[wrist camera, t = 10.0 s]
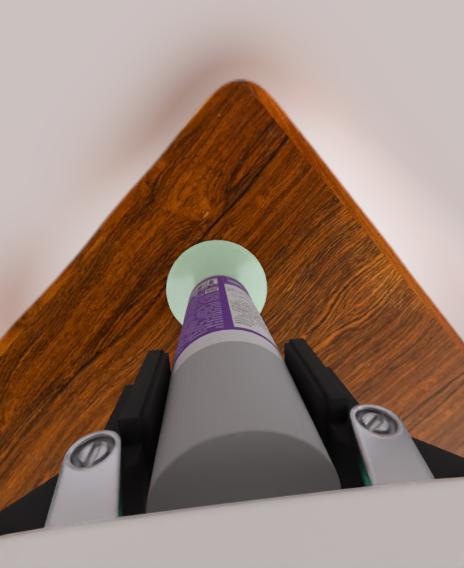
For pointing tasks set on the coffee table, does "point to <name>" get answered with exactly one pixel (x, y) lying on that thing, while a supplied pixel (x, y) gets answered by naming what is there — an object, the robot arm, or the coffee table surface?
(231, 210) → the coffee table surface
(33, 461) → the coffee table surface
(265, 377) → the container
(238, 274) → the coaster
